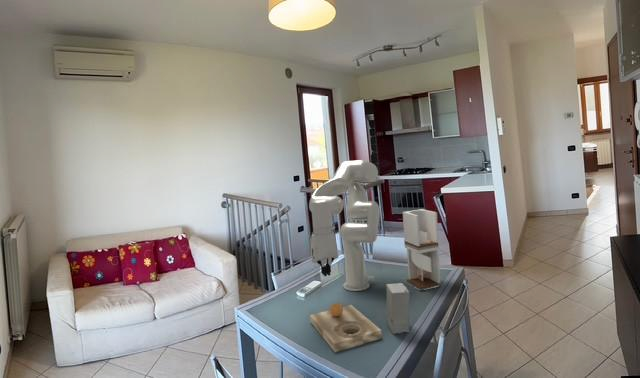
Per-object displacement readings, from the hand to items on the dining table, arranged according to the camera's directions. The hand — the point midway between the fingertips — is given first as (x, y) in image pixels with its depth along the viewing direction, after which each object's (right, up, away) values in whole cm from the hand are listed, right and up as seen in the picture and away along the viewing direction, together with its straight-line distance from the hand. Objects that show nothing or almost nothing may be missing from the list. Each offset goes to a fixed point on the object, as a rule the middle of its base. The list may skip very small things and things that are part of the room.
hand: (326, 274), depth 147 cm
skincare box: (+26, -17, -13) cm, 34 cm away
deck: (+6, -18, -11) cm, 22 cm away
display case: (+46, -11, +24) cm, 53 cm away
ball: (+4, -12, -6) cm, 14 cm away
